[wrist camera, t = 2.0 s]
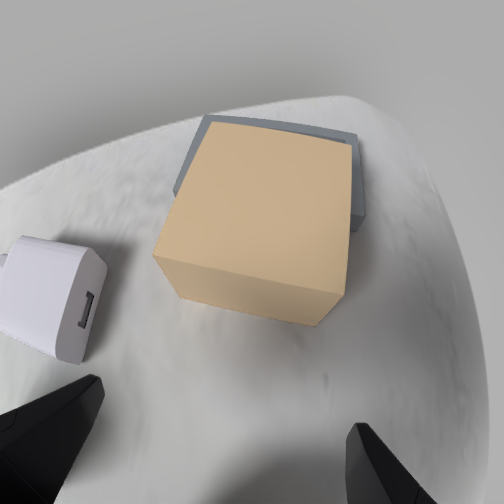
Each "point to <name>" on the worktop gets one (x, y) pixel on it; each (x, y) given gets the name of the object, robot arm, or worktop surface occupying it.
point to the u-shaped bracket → (319, 132)
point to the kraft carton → (261, 224)
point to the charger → (50, 295)
